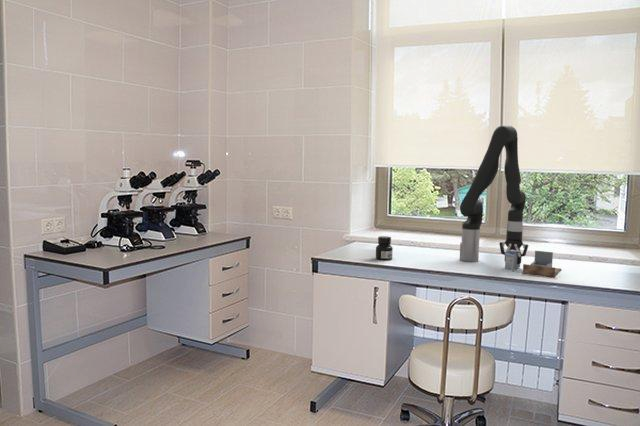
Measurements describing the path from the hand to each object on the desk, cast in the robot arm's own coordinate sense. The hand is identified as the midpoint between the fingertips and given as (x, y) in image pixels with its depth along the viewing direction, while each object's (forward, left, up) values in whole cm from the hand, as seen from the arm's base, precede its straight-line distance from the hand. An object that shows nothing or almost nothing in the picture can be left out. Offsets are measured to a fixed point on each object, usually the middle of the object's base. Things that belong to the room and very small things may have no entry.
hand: (512, 263), depth 265 cm
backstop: (+14, 0, -3) cm, 14 cm away
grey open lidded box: (+14, -4, -3) cm, 15 cm away
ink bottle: (-63, -17, -3) cm, 65 cm away
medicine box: (0, 0, -3) cm, 3 cm away
